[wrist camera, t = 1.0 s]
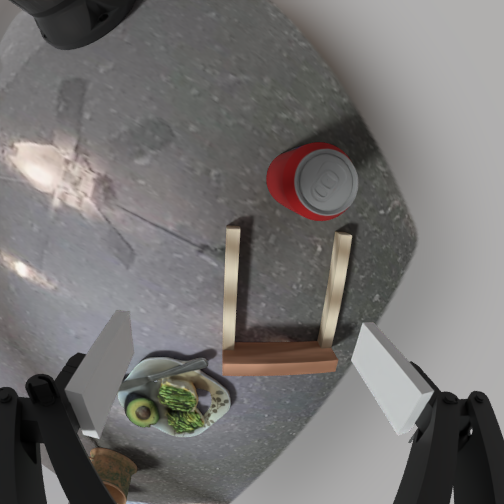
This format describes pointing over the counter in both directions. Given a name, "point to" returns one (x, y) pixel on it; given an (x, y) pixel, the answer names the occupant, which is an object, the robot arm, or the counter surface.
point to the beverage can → (313, 181)
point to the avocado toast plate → (172, 396)
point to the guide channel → (282, 353)
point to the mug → (114, 472)
